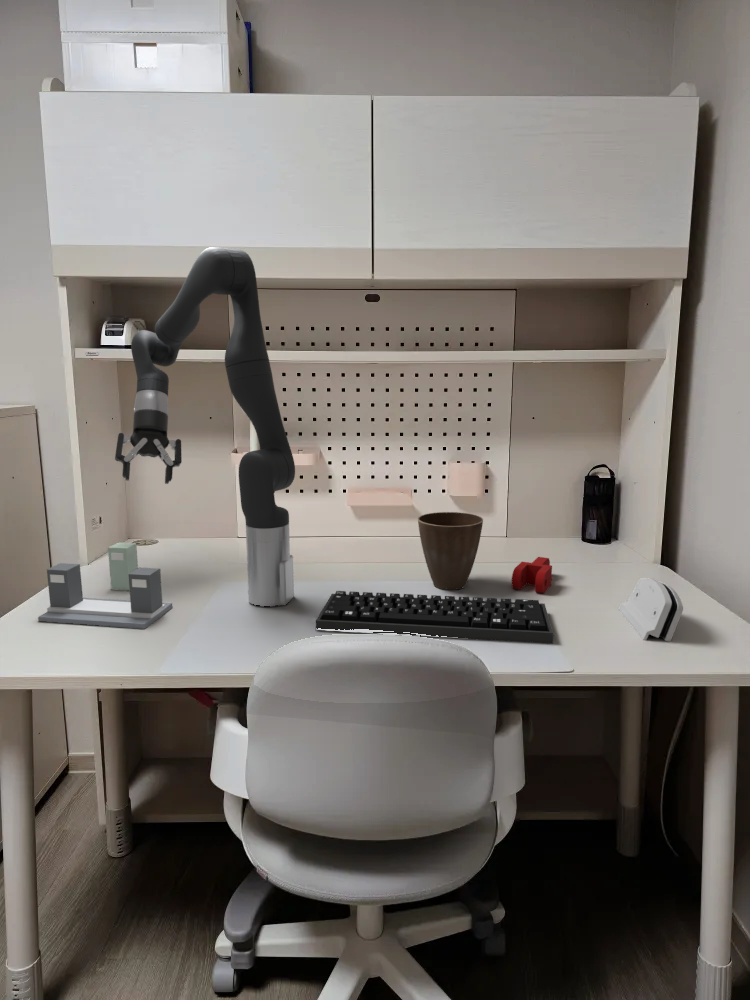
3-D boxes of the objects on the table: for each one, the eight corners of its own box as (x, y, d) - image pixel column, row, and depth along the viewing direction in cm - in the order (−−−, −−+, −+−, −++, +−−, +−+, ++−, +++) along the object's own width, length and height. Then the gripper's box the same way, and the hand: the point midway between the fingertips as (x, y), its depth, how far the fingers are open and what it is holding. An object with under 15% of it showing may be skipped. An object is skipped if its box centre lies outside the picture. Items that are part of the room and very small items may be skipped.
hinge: (617, 609, 145) (637, 566, 143) (638, 616, 145) (658, 574, 143) (643, 641, 129) (666, 593, 127) (667, 649, 129) (690, 602, 127)
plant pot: (406, 589, 157) (407, 521, 154) (430, 572, 171) (431, 509, 167) (469, 599, 151) (471, 528, 148) (489, 580, 164) (491, 515, 161)
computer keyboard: (315, 633, 134) (315, 614, 133) (331, 605, 149) (331, 588, 148) (552, 646, 128) (553, 627, 127) (543, 615, 143) (544, 598, 142)
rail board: (172, 607, 146) (169, 563, 144) (144, 628, 135) (141, 581, 133) (73, 601, 150) (69, 558, 148) (38, 621, 138) (33, 575, 136)
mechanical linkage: (542, 596, 154) (543, 575, 153) (511, 591, 157) (512, 570, 156) (558, 576, 168) (560, 557, 167) (530, 572, 171) (530, 553, 170)
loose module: (139, 584, 161) (136, 543, 159) (129, 590, 157) (125, 548, 155) (121, 583, 162) (118, 542, 160) (110, 589, 158) (107, 547, 156)
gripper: (119, 404, 153) (114, 474, 149) (185, 412, 158) (182, 479, 154) (117, 415, 159) (112, 483, 155) (180, 422, 165) (177, 488, 161)
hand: (147, 481), depth 155 cm, fingers open, 8 cm apart
